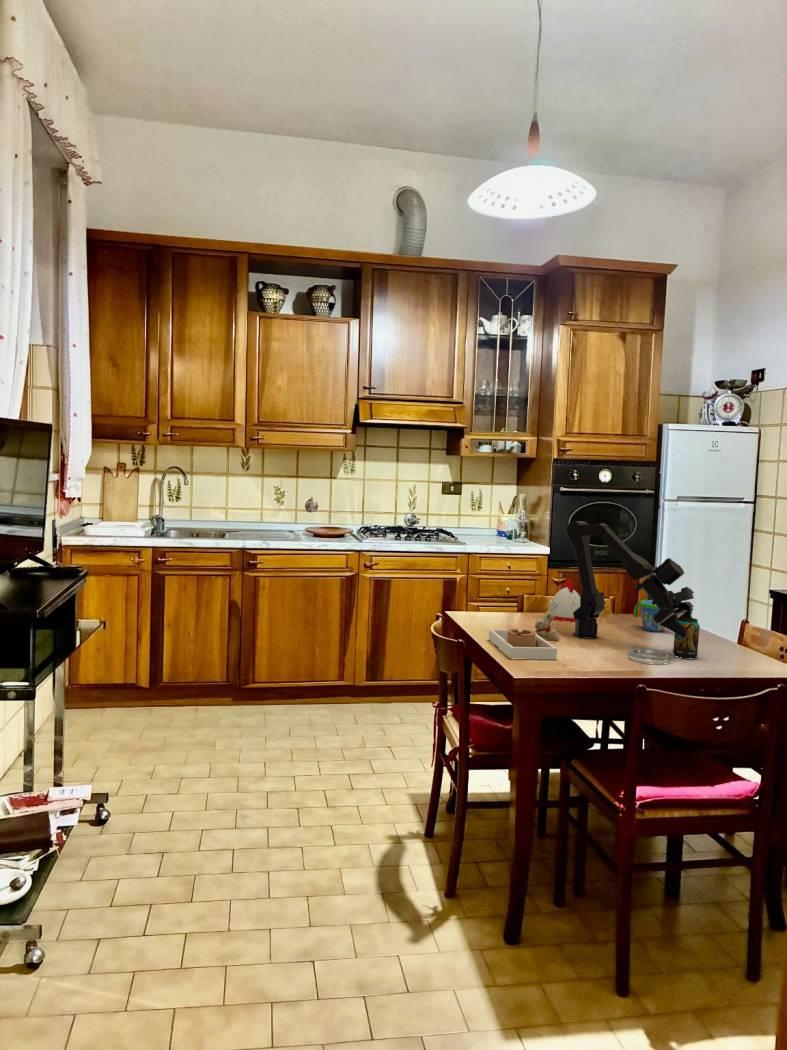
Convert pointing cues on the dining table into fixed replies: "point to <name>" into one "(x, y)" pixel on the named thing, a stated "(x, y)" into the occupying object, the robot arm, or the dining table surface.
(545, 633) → the chocolate bunny
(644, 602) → the snack cup
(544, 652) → the gray rectangular tray
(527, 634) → the bracket
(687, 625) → the beverage can
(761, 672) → the dining table surface
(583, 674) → the dining table surface
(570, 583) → the kitchen timer
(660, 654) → the shallow metal dish
